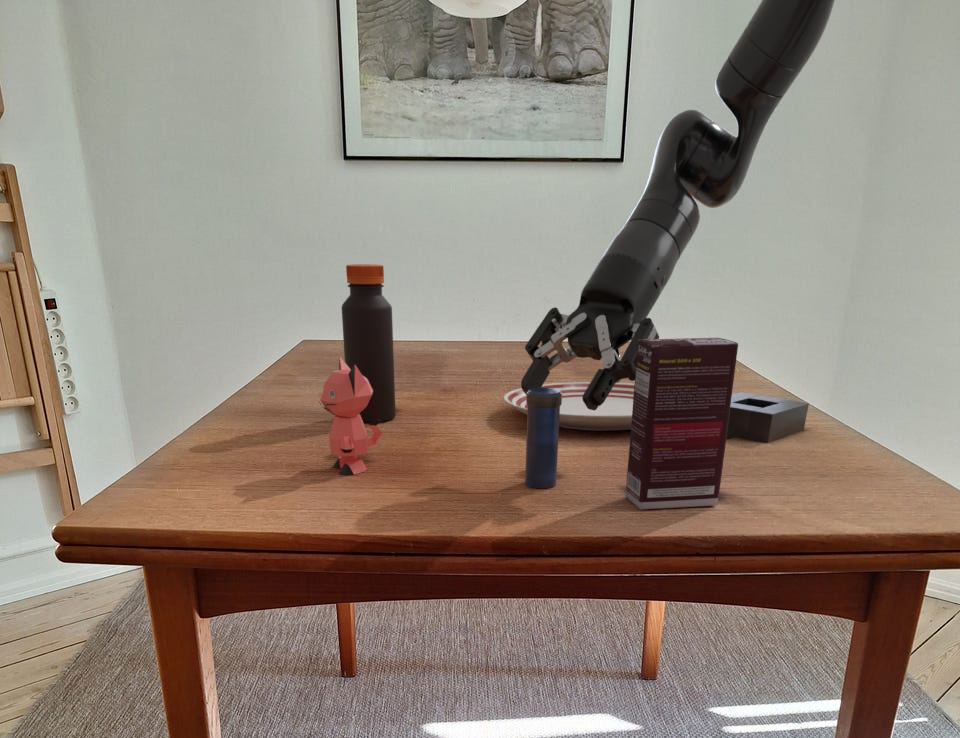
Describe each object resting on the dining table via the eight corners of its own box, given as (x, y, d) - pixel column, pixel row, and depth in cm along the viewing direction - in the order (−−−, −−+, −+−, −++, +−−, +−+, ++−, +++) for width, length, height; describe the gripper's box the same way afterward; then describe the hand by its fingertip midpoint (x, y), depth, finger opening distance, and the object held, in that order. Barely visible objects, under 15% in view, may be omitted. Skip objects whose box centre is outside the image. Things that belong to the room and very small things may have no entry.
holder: (802, 437, 112) (809, 403, 110) (766, 450, 106) (772, 414, 104) (735, 424, 119) (740, 392, 116) (697, 436, 112) (701, 402, 110)
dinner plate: (464, 414, 123) (464, 391, 121) (591, 392, 139) (592, 371, 137) (606, 452, 104) (608, 425, 103) (733, 421, 120) (736, 397, 119)
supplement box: (699, 493, 89) (720, 336, 82) (718, 507, 85) (742, 343, 78) (621, 496, 88) (636, 337, 81) (637, 511, 84) (653, 344, 77)
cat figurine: (316, 463, 98) (307, 356, 93) (372, 457, 101) (367, 353, 95) (332, 479, 93) (324, 366, 87) (391, 473, 95) (387, 363, 90)
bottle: (353, 424, 116) (344, 266, 107) (343, 414, 122) (334, 263, 113) (400, 421, 118) (395, 266, 109) (389, 411, 124) (384, 263, 115)
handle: (564, 484, 92) (569, 390, 87) (542, 491, 90) (546, 395, 85) (538, 477, 94) (542, 385, 90) (516, 483, 92) (519, 390, 87)
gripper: (565, 248, 93) (491, 367, 91) (675, 254, 84) (596, 386, 82) (591, 297, 99) (522, 410, 97) (697, 307, 90) (623, 431, 88)
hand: (556, 398), depth 89 cm, fingers open, 8 cm apart
